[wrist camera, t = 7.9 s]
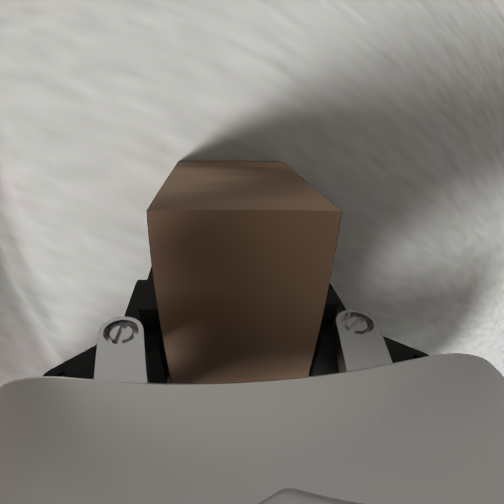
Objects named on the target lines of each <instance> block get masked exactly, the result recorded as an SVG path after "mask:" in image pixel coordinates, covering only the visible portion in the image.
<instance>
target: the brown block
mask: <svg viewBox="0 0 504 504" xmlns="http://www.w3.org/2000/svg"><path fill="white" fill-rule="evenodd" d="M341 213H342V211H341V210H340V209H338V208H337V207H336V206H335V205H334V204H333V203H332V202H330V201H329V200H328V199H327V198H326V197H325V196H323V195H322V194H321V193H320V192H319V191H317V190H316V189H315V188H314V187H313V186H311V185H310V184H309V183H308V182H307V181H305V180H304V179H303V178H302V177H300V176H299V175H298V174H297V173H295V172H294V171H293V170H292V169H290V168H289V167H288V166H287V165H285V164H284V163H283V162H269V161H179V162H178V163H177V164H176V166H175V167H174V169H173V170H172V172H171V173H170V175H169V176H168V178H167V179H166V181H165V183H164V184H163V186H162V187H161V189H160V190H159V192H158V193H157V195H156V197H155V198H154V200H153V201H152V203H151V205H150V206H149V208H148V209H147V223H148V234H149V244H150V253H151V262H152V270H153V278H154V286H155V293H156V300H157V306H158V313H159V319H160V325H161V331H162V336H163V342H164V347H165V352H166V357H167V362H168V367H169V372H170V377H171V381H172V383H174V384H197V383H234V382H252V381H267V380H279V379H290V378H299V377H308V375H309V371H310V367H311V363H312V359H313V355H314V351H315V347H316V343H317V338H318V334H319V330H320V325H321V321H322V316H323V312H324V307H325V302H326V297H327V293H328V288H329V282H330V277H331V272H332V267H333V261H334V256H335V250H336V244H337V238H338V232H339V226H340V219H341Z"/></svg>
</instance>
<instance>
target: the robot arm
mask: <svg viewBox="0 0 504 504" xmlns="http://www.w3.org/2000/svg"><path fill="white" fill-rule="evenodd" d="M0 504H504V377H503V376H502V374H501V373H500V372H499V371H498V370H497V369H496V368H495V367H494V366H493V365H492V364H491V363H490V362H488V361H487V360H485V359H484V358H482V357H478V356H475V355H470V354H460V353H452V354H439V355H431V356H429V355H427V354H425V353H423V352H421V351H418V350H416V349H413V348H411V347H408V346H406V345H403V344H401V343H398V342H396V341H394V340H391V339H389V338H386V337H384V336H383V335H382V333H381V330H380V328H379V325H378V323H377V321H376V319H375V318H374V317H372V316H371V315H370V314H368V313H366V312H363V311H360V310H354V309H352V310H346V309H345V307H344V305H343V304H342V302H341V300H340V299H339V297H338V295H337V294H336V292H335V290H334V289H333V287H332V286H331V284H330V282H329V288H328V293H327V297H326V302H325V307H324V312H323V316H322V321H321V325H320V330H319V334H318V338H317V343H316V347H315V351H314V355H313V359H312V363H311V367H310V371H309V375H308V377H299V378H290V379H279V380H267V381H252V382H234V383H197V384H174V383H172V381H171V377H170V372H169V367H168V362H167V357H166V352H165V347H164V342H163V336H162V331H161V325H160V319H159V313H158V306H157V300H156V293H155V286H154V278H153V270H152V267H151V270H150V273H149V276H148V279H147V280H138V281H137V283H136V285H135V288H134V291H133V293H132V296H131V299H130V302H129V305H128V307H127V310H126V313H125V316H124V317H117V318H114V319H111V320H109V321H107V322H106V323H104V324H103V325H102V327H101V328H100V330H99V333H98V341H97V345H96V346H94V347H92V348H90V349H88V350H86V351H85V352H83V353H81V354H79V355H77V356H75V357H73V358H72V359H70V360H68V361H66V362H64V363H62V364H60V365H58V366H57V367H55V368H53V369H51V370H49V371H48V372H47V373H45V374H44V375H43V376H42V377H30V378H24V379H19V380H15V381H12V382H9V383H6V384H4V385H2V386H1V387H0Z"/></svg>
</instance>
